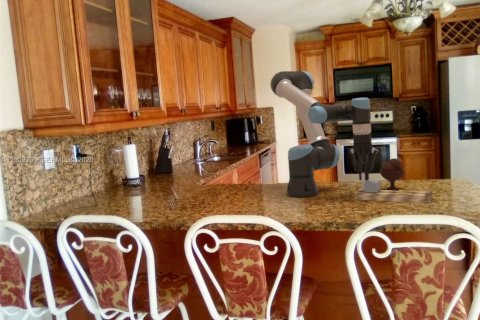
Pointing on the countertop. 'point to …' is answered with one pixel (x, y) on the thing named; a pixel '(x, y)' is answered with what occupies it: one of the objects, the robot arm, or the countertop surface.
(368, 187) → the rider
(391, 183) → the ice cream bowl
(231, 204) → the countertop surface
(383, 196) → the rail
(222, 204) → the countertop surface
